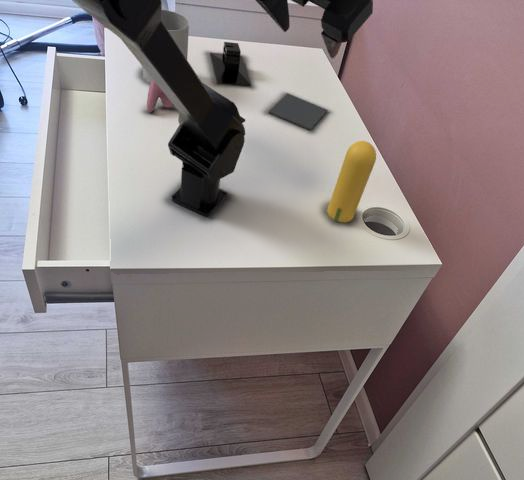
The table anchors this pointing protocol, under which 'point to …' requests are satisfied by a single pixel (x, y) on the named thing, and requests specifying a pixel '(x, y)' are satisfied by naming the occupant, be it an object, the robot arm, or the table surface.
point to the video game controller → (156, 97)
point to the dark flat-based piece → (230, 66)
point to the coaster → (298, 111)
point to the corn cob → (352, 181)
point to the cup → (174, 33)
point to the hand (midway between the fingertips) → (310, 42)
